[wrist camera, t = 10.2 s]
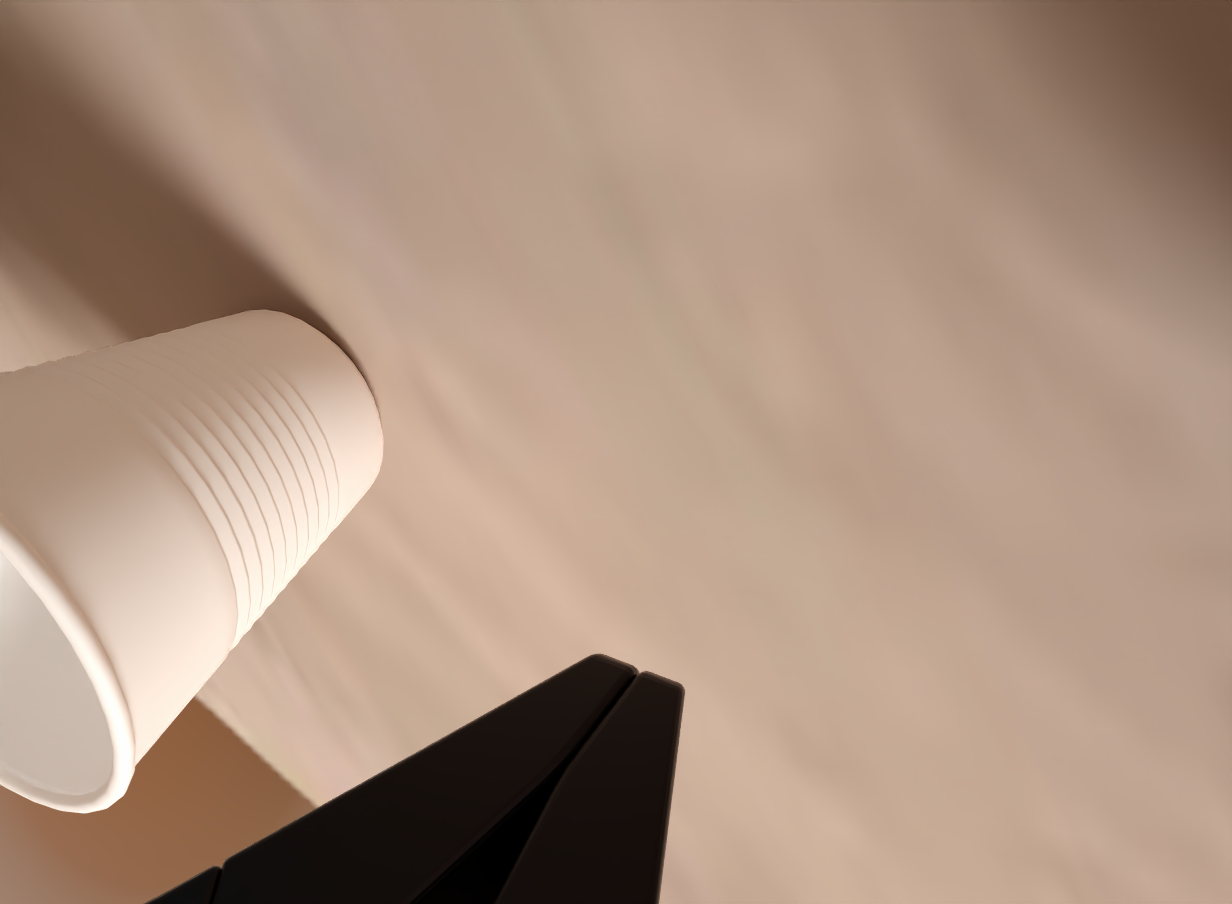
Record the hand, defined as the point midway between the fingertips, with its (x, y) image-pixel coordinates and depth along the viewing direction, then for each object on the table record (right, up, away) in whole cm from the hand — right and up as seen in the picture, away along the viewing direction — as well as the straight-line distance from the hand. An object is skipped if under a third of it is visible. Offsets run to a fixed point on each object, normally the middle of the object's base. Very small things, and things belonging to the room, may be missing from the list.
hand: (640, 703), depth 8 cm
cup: (-9, +4, +20) cm, 22 cm away
